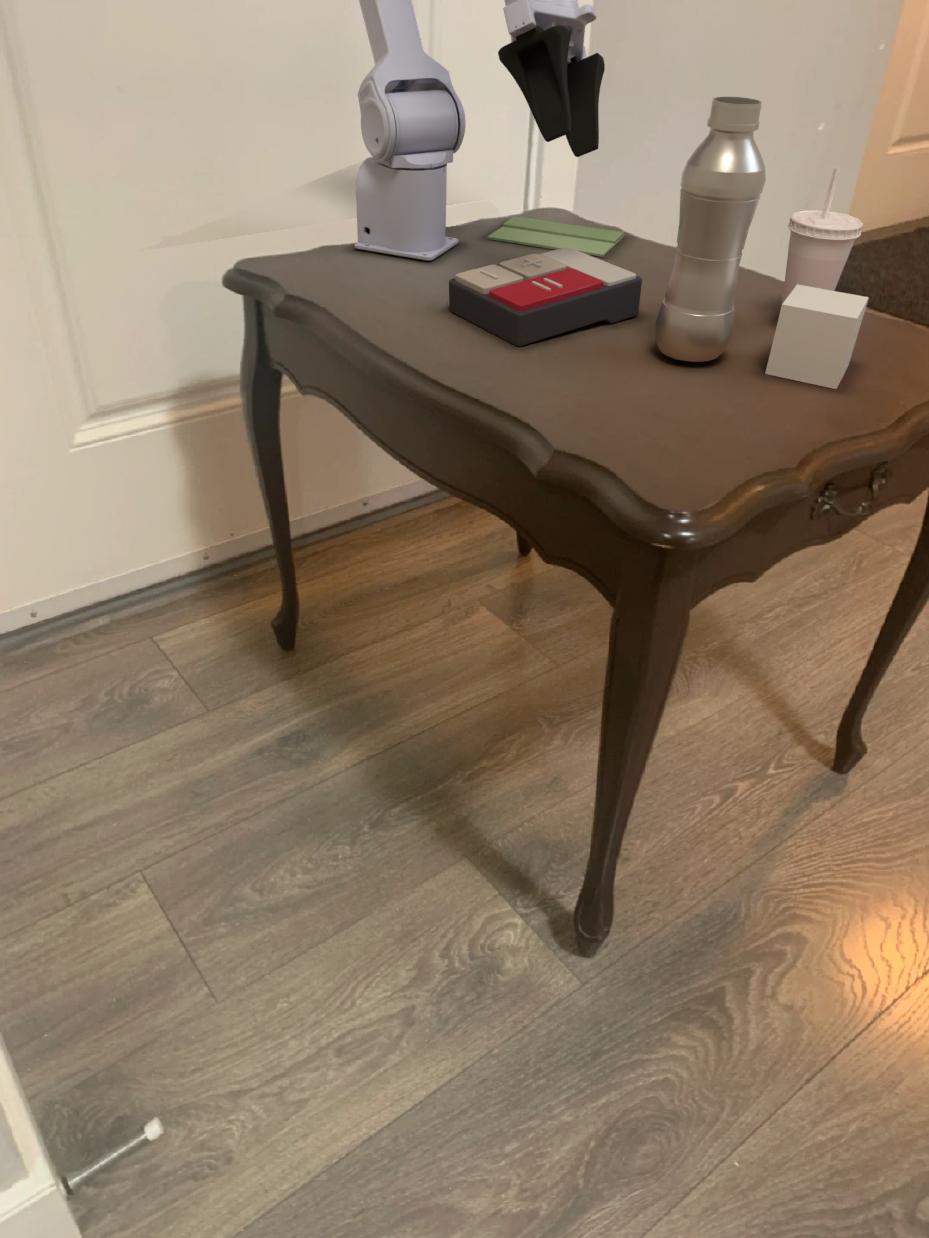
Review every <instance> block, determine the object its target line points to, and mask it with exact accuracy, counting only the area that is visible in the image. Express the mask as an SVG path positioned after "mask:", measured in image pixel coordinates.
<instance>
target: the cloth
mask: <svg viewBox="0 0 929 1238" xmlns="http://www.w3.org/2000/svg"><path fill="white" fill-rule="evenodd" d="M624 237H625V232H623V231H617V230H610V229H605V228H603V229H602V228H597V227H592V226H591V227H590V226H585V225H577V224H569V223H563V222H557V221H550V220H543V219H536V218H528V217H523V216H516V215H514V216H512V217H510V218H509V219H508V220H506V221H504V222H503V223H502V225H501V227H499V228H498V229H496V230H495V231H493V232H492V233H491V234H488V235H487V240H492V241H496V242H497V241H498V242H504V243H511V244H517V245H523V246H529V247H534V248H535V247H536V248H542V249H548V250H557V249H561V248H565V247H569V248H572V249H574V250H577V251H579V252H582V253H585V254H587V255H590V256H592V257H601V258H603V257H605V255H606V254H608V253H609V252H610V251H611V250H612V249H613V248H614V247H615V246H616V245H617V244H618V243H620V242H621V240H622V239H623V238H624Z"/></svg>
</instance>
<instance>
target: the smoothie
mask: <svg viewBox="0 0 929 1238" xmlns="http://www.w3.org/2000/svg"><path fill="white" fill-rule="evenodd" d="M841 169H842V167H839V166H834V167H833V170H832V174H831V178H830V181H829V186H828V189H827V194H826V198H825V200H824V201H825V202H824V206H823V209H822V210H818V209H808V210H807V209H806V210H799V211H795V212H793V213H791V215H790V218H789V221H788V224H787V228H788V230H790V232H789V233H790V234H789V241H788V248H787V259H786V265H785V266H786V267H785V274H784V275H785V276H784V282H783V283H784V284H783V291H782V301H781V305H782V304H783V302H784V301H785V300H786V299H787V297H788V296H789V295H790V293H791V292H792V291H793V289H794V288H795V287H796V286H797V284H798V285H803V286H809V287H814V288H820V289H826V290H831V291H836V288H837V286H838V284H839V281H840V279H841V276H842V273H843V270H844V269H845V266H846V265H847V264H846V263H847V261H848V259H849V256H850V254H851V251H852V249H853V246H854V243H855V241H856V239H858V238H860V237H861V236H862V229H863V227H864V223H863V222H862V221H861V220H860V219H859V218H857V217H855V216H852V215H850V214H847V213H846V214H845V213H841V212H836V211H831V207H832V204H833V200H834V196H835V191H836V188H837V184H838V180H839V177H840V172H841Z"/></svg>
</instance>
